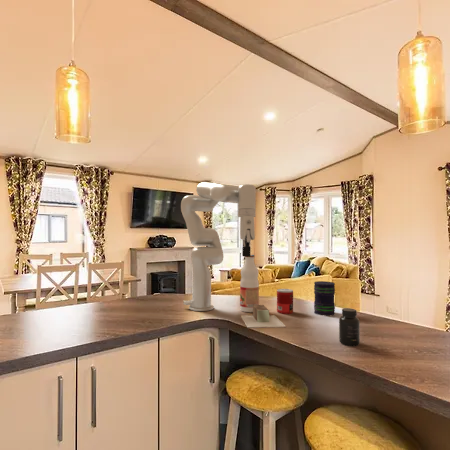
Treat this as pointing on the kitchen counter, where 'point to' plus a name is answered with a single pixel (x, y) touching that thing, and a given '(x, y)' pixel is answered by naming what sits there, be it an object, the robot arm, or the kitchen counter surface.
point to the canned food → (285, 301)
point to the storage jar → (324, 298)
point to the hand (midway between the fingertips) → (246, 256)
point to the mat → (252, 322)
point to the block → (260, 313)
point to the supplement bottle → (349, 328)
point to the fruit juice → (249, 285)
